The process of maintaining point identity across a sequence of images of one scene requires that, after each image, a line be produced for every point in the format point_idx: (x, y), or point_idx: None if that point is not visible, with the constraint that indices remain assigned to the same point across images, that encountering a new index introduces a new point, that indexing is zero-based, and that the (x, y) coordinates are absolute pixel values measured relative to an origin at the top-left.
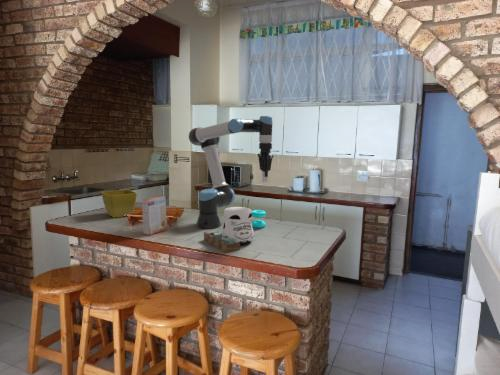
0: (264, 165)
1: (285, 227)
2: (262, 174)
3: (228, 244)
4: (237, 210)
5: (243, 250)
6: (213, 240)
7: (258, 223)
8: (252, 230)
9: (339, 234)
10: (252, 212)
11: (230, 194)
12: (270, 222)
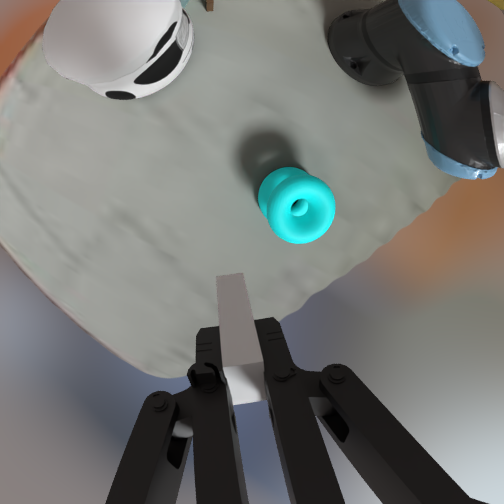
0: (224, 461)
1: None
2: (254, 328)
3: None
4: (90, 10)
5: None
6: None
7: (268, 189)
8: (91, 88)
9: (122, 357)
10: (303, 180)
11: (450, 144)
12: (309, 259)
